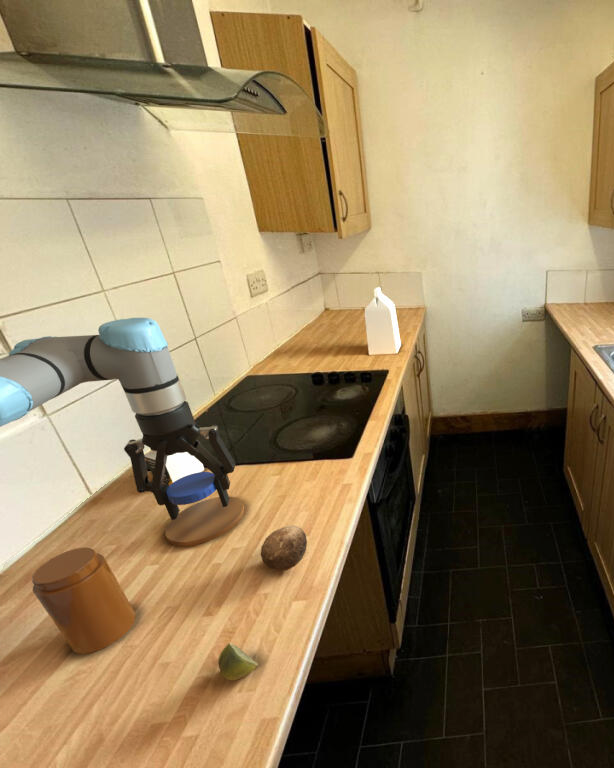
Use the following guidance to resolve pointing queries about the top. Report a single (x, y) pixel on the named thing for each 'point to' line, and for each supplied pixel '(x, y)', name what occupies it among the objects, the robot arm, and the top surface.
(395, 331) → the milk
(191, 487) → the lid
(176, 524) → the coaster
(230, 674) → the lime
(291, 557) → the brown oval lump
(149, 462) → the medicine bottle
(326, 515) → the top surface
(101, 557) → the jar
